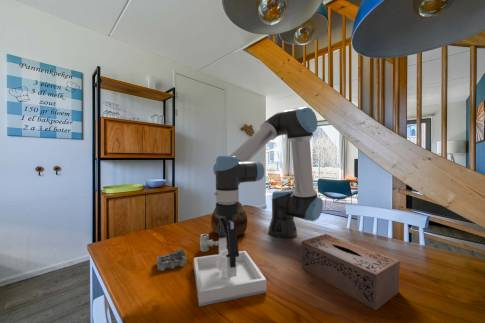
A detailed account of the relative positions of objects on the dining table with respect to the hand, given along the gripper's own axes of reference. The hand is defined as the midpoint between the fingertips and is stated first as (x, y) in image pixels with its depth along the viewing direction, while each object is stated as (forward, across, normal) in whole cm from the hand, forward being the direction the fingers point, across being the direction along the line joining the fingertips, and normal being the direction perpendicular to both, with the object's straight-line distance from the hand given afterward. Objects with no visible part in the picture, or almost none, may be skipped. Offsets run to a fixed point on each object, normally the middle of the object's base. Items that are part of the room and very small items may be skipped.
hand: (226, 265), depth 68 cm
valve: (+5, -23, -1) cm, 23 cm away
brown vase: (+5, -41, +11) cm, 43 cm away
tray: (+5, 0, 0) cm, 5 cm away
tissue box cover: (+5, +11, +39) cm, 41 cm away
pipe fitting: (+4, 0, 0) cm, 4 cm away
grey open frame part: (+5, -16, -18) cm, 24 cm away
